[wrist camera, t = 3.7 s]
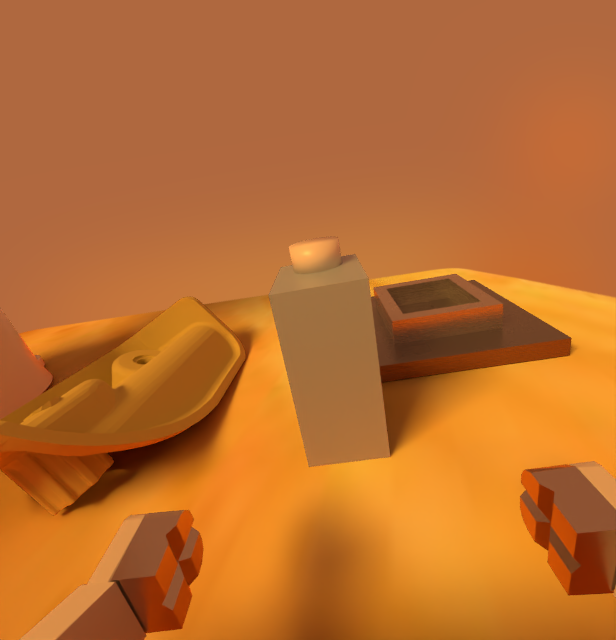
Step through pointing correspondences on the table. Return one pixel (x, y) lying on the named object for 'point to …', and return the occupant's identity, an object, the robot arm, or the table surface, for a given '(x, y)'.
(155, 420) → the plastic component
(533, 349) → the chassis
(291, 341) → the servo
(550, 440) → the table surface
